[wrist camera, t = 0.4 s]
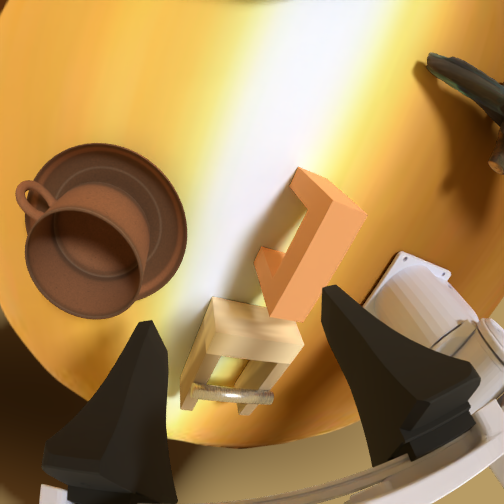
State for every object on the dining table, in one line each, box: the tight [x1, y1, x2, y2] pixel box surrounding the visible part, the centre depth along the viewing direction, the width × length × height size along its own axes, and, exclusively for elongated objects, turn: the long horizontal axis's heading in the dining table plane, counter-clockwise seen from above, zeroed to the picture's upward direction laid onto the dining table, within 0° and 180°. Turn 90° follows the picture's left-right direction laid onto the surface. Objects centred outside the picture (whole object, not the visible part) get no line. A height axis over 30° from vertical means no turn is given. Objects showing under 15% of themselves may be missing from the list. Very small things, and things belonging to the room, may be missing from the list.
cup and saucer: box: [16, 143, 187, 319], centre depth 17 cm, size 12×12×6 cm
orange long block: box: [254, 167, 367, 323], centre depth 19 cm, size 2×8×6 cm, turn 158°
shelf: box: [180, 297, 304, 415], centre depth 26 cm, size 7×12×5 cm, turn 158°
